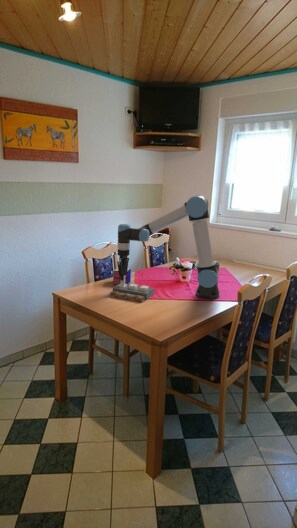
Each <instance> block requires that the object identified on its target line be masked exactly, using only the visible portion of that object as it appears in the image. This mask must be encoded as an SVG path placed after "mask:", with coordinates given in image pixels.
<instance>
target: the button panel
mask: <svg viewBox="0 0 297 528" xmlns="http://www.w3.org/2000/svg"><path fill="white" fill-rule="evenodd" d="M131 284H132V283H131ZM131 284H130V283H129V284H127V287H126V288H121V287H118V285H120V284H118V285H115V286H114V287H112V291H117V292H123V293H128V294H134V295H140V296H145V301H147V300H149V299H150V298H151V297H153V296H154V294H155V288H154V287H150V286H149V291H147V292H144V291H140V287H141V286H142V285H138V289H136V290H133V289H129V285H131Z"/></svg>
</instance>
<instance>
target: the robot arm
mask: <svg viewBox="0 0 297 528" xmlns="http://www.w3.org/2000/svg"><path fill="white" fill-rule="evenodd" d="M187 218H188V220H189V222H190V223H191V224H192V230H193V236H194V242H195V248H196V249H195V250H196V256H197V261H198V263H197V264H196V271H197V282H198V285H197V288H196V290H195V295H196V297H198V298H199V297H200V298H201V299H209V300H210V299H211V300H214V299H218V298H219V297H220V289H219V285H218V283H219V272H220V266H221V264H220V262H219V261H217V260H213V259H214V258H213V251H212V245H211V240H210V233H209V226H208V220H209V218H210V215H209V200H208V199H207V198H206V197H205V196H204V195H202V194H201V195H200V194H198V195H194V196H191V197H190V198H189V199H188V200H187V201H185V202H183V205H181V206H180V207H178V208H176V209H174V210H172V211H170V212H168V213H166V214H165V215H163V216H160V217H158V218H156V219H154V220H152V221H151V222H149V223H147V224H145V225H142V226H141V227H139V228H132V227H131V225H130V224H129V223H128V224H127V223H121V224H119V225H118V228H117V256H119V257H118V260H119V261H117V262H116V263H117V267H118V272H119V275H121V278H120V285H125V275H127V274H126V273H127V270H128V268H129V261H130V257H129V255H130V251H131V249H130V246H131V244H130V242H131V241H134V242H145V243H146V242H147V243H148V242H149V240H150V237H151V236H152V235H155V234H156V233H158V232H160V231H163V230H164V229H166V228H168V227H171V226H173V225H175V224H176V223H179V222H180V221H183V220H184V219H187Z"/></svg>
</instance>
